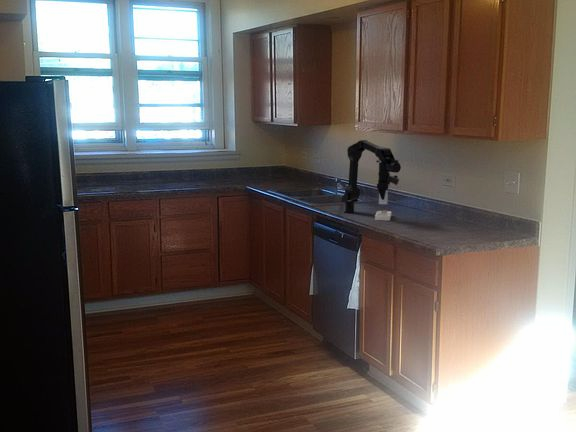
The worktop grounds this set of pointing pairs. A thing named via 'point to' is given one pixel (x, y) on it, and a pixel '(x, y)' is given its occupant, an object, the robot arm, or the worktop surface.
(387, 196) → the box
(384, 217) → the power strip
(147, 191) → the worktop surface
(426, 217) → the worktop surface
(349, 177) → the robot arm
